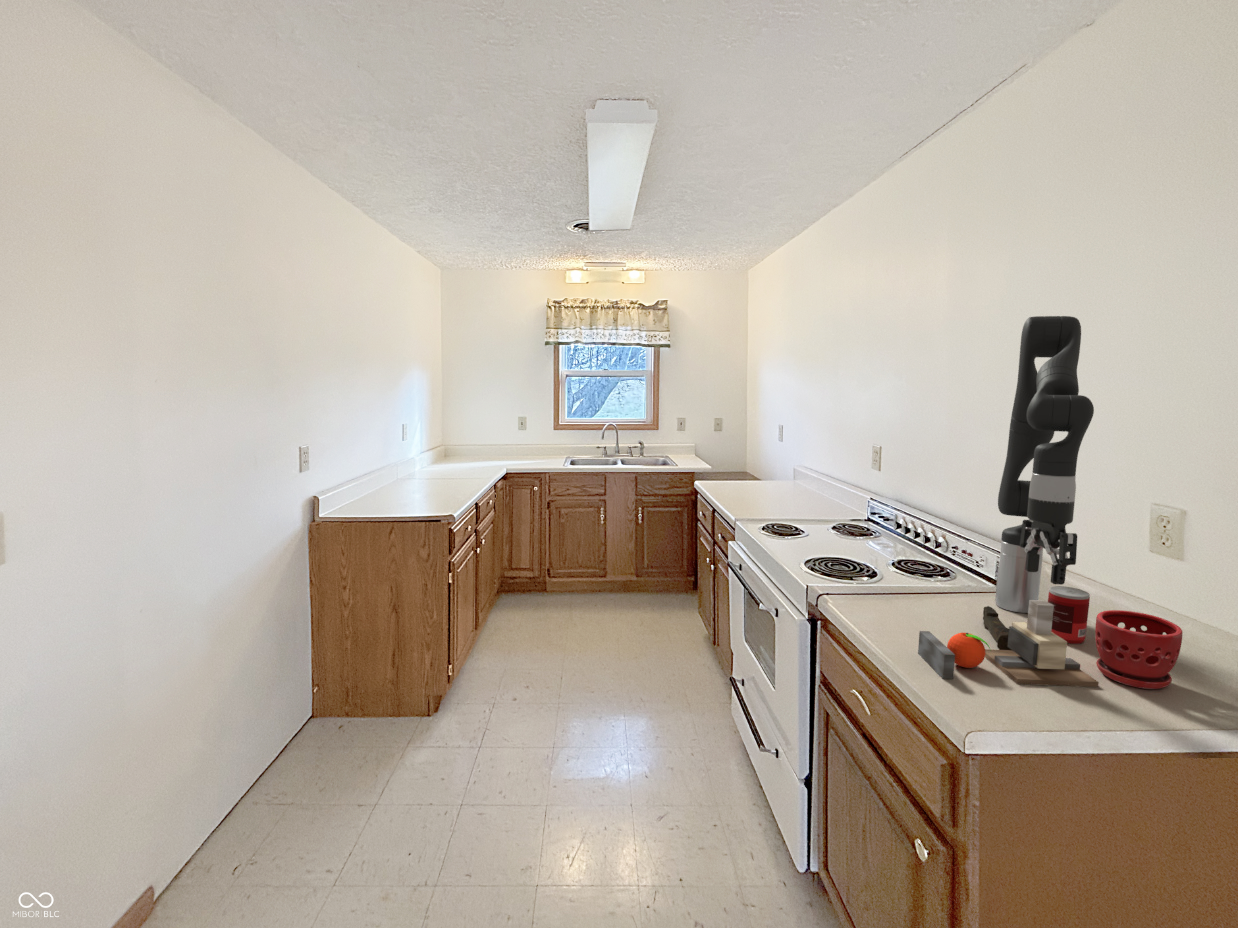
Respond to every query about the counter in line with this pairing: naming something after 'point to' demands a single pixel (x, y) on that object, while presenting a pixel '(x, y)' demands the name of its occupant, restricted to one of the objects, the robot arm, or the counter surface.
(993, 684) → the counter surface
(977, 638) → the clementine
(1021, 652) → the jaw
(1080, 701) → the counter surface
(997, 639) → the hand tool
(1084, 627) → the canned food
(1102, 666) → the plant pot
